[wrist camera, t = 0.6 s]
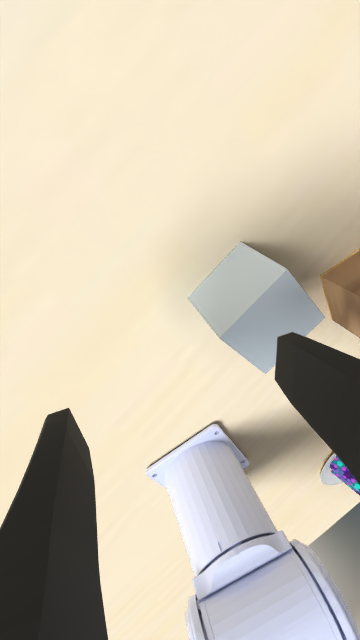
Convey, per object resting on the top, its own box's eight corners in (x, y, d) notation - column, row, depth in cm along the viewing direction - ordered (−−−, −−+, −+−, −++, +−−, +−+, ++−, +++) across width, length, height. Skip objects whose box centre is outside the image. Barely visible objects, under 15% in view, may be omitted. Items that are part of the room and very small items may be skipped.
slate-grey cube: (276, 284, 22) (325, 317, 18) (229, 332, 23) (265, 374, 19) (239, 241, 20) (287, 269, 15) (187, 297, 20) (219, 338, 16)
